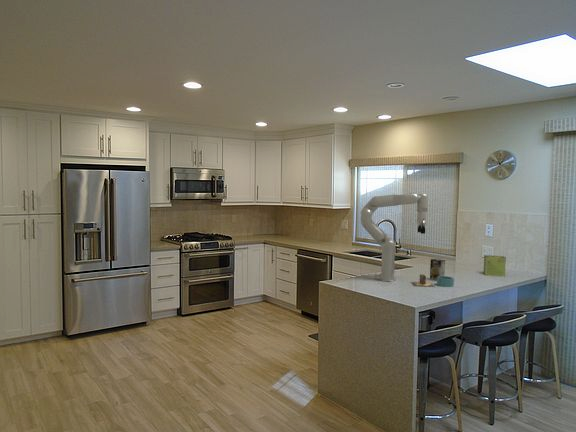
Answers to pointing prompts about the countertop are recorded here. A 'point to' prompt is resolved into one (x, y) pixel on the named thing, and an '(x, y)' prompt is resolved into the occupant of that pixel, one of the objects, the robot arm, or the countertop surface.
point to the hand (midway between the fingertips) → (421, 232)
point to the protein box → (494, 265)
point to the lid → (422, 281)
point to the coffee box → (437, 268)
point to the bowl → (445, 281)
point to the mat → (422, 286)
